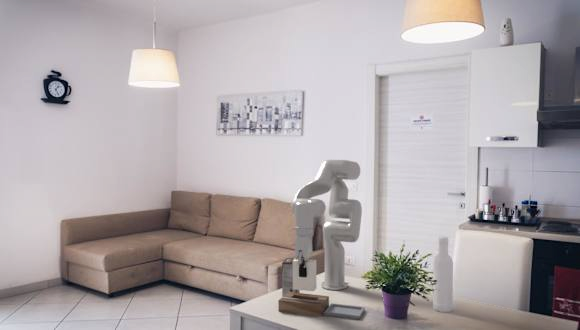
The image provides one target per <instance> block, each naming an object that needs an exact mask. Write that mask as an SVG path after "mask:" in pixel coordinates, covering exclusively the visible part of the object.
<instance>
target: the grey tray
mask: <svg viewBox="0 0 580 330" xmlns="http://www.w3.org/2000/svg"><path fill="white" fill-rule="evenodd" d="M365 309H366V307H365V306H359V305H351V304H349V305H348V304H340V303H334V302H333V303H332V302H331V304H330V303H329V307H328V308H327V309H326V311H325V312H324V313H323V314H324V315H325V316H326V317H333V318H344V319H351V320H357V321H358V320H359V321H360V319H361V318H362V316H363V315H364V313H365V311H366V310H365Z"/></svg>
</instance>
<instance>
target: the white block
mask: <svg viewBox="0 0 580 330" xmlns="http://www.w3.org/2000/svg"><path fill="white" fill-rule="evenodd" d="M302 260H304V259H303V258H302ZM302 262H303V261H302ZM303 263H304V262H303ZM306 267H307V277H299V264H298V260H295V259H294V260H293V289H295V290H300V291H305V292H306V291H307V292H315V291H316V290H317V286H318V285H317V283H318V282H317V259H311V258H310V259H307V260H306Z"/></svg>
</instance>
